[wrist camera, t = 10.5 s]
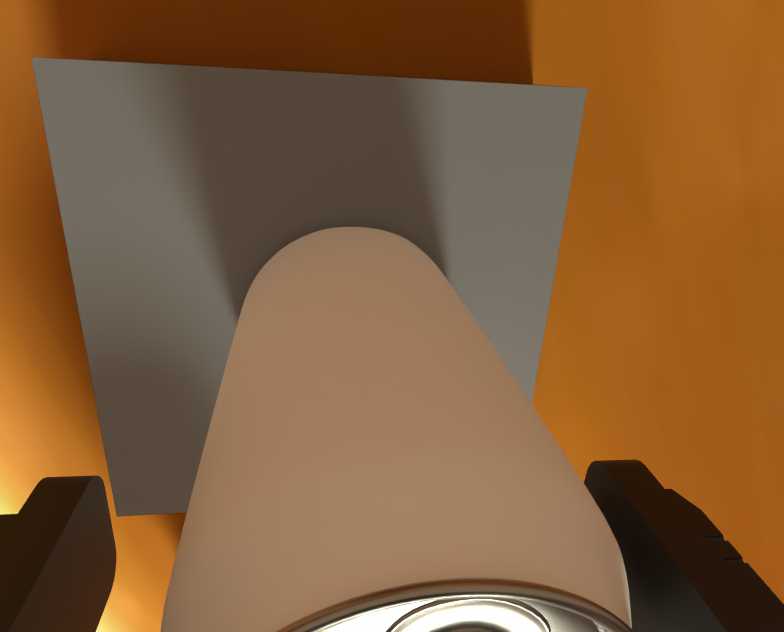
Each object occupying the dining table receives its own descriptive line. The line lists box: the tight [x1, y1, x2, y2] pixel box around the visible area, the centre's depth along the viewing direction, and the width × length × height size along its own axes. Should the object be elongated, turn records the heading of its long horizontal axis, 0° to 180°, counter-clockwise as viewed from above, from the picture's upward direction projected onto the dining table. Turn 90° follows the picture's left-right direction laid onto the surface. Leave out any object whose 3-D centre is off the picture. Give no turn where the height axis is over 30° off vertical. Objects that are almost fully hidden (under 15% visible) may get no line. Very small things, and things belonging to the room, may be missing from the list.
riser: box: [31, 57, 588, 516], centre depth 19 cm, size 14×14×4 cm
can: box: [161, 227, 634, 632], centre depth 12 cm, size 6×6×12 cm
